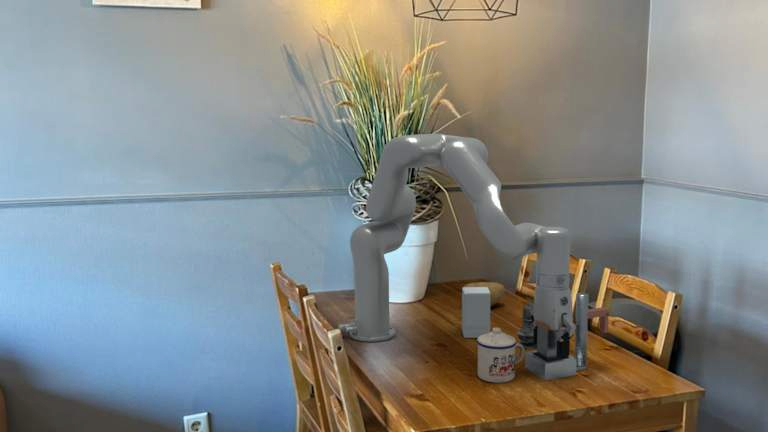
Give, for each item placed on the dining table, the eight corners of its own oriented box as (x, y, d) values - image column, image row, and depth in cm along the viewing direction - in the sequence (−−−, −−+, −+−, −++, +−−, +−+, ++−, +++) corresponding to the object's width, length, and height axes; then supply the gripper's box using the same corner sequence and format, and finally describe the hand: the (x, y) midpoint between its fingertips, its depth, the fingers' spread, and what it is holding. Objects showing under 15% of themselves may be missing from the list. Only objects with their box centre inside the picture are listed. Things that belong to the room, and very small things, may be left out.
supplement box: (490, 338, 194) (491, 293, 192) (463, 338, 194) (463, 293, 192) (487, 329, 201) (488, 286, 199) (461, 329, 202) (461, 286, 200)
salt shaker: (539, 350, 184) (540, 305, 182) (516, 348, 185) (516, 304, 183) (538, 342, 190) (539, 299, 188) (516, 341, 191) (517, 298, 189)
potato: (511, 308, 221) (511, 283, 220) (469, 313, 218) (469, 287, 216) (497, 300, 231) (497, 276, 230) (457, 304, 227) (457, 280, 226)
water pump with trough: (544, 380, 164) (546, 304, 161) (525, 367, 172) (526, 295, 169) (615, 368, 171) (618, 295, 168) (593, 357, 178) (595, 287, 176)
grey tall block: (565, 373, 168) (566, 323, 166) (546, 376, 166) (547, 326, 164) (553, 366, 173) (554, 317, 171) (534, 369, 171) (535, 320, 169)
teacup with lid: (489, 386, 161) (489, 336, 159) (469, 372, 169) (469, 325, 167) (534, 378, 165) (535, 329, 164) (512, 365, 174) (513, 319, 172)
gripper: (588, 286, 159) (586, 360, 162) (545, 270, 175) (543, 337, 178) (560, 290, 156) (558, 364, 159) (518, 273, 172) (517, 341, 175)
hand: (550, 350), depth 168 cm, fingers open, 9 cm apart
